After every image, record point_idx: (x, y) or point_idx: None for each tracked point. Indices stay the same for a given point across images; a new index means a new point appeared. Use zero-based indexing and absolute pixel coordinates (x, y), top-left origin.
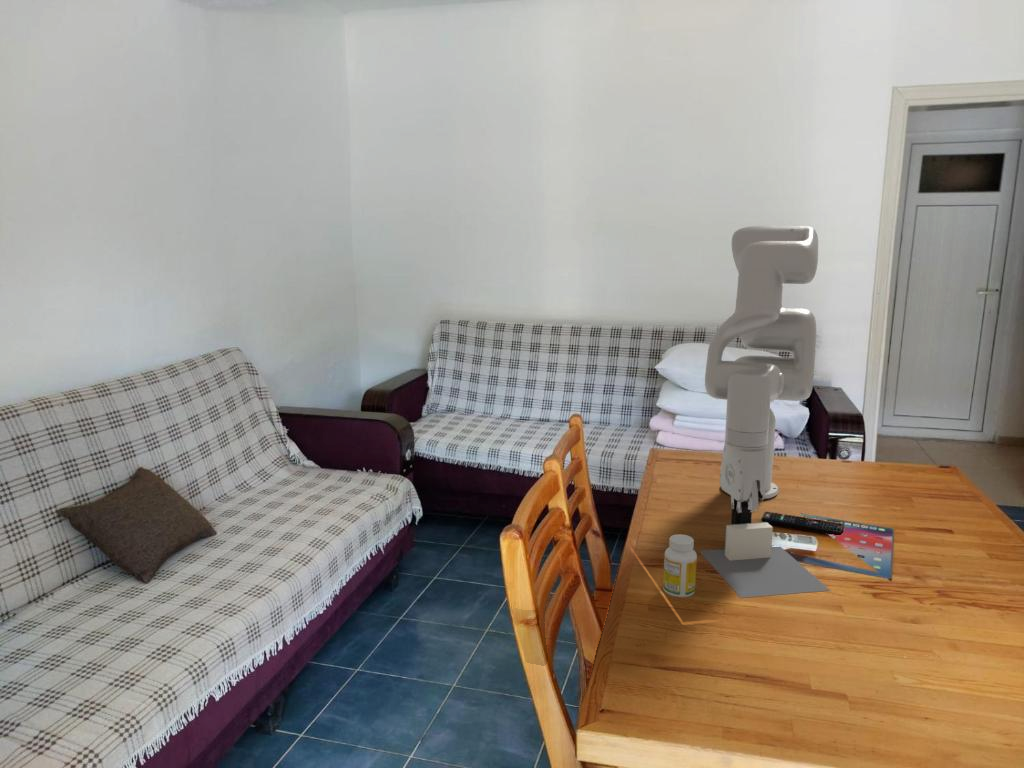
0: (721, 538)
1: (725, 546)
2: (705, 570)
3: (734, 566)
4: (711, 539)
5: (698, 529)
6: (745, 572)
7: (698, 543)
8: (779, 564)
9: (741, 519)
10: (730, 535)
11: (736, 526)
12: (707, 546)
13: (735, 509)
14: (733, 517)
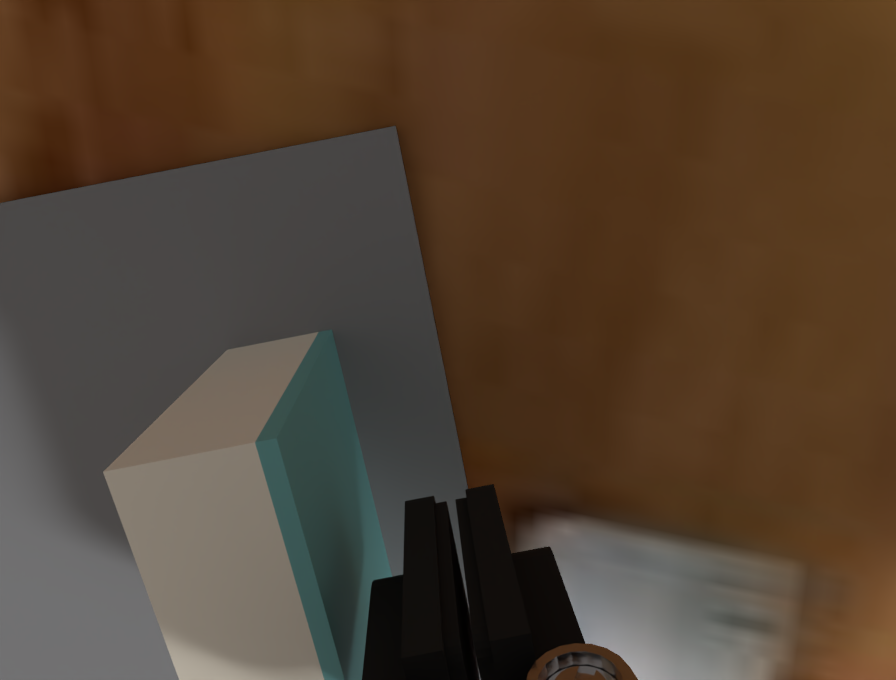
0: (679, 375)
1: (306, 354)
2: (56, 112)
3: (119, 362)
4: (666, 291)
5: (876, 222)
6: (24, 421)
7: (593, 162)
8: None
9: (365, 659)
10: (158, 432)
11: (235, 553)
12: (531, 229)
13: (521, 677)
14: (474, 576)
